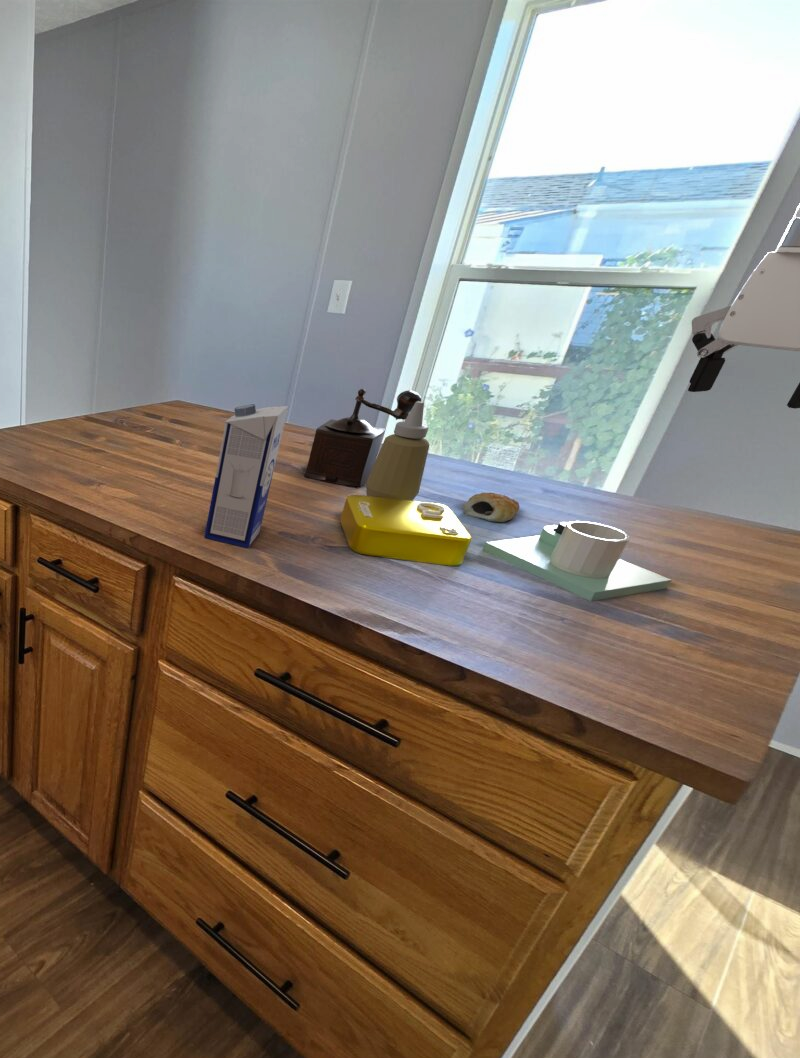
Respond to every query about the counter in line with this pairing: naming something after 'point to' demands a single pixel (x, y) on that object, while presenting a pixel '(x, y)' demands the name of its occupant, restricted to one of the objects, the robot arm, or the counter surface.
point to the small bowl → (589, 549)
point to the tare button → (561, 527)
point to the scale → (536, 560)
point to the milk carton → (244, 474)
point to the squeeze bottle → (401, 459)
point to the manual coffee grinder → (352, 443)
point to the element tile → (404, 530)
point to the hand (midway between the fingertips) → (745, 398)
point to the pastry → (491, 507)
